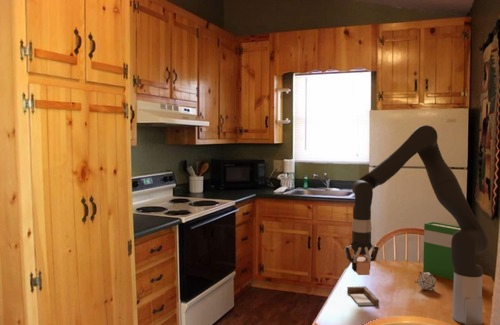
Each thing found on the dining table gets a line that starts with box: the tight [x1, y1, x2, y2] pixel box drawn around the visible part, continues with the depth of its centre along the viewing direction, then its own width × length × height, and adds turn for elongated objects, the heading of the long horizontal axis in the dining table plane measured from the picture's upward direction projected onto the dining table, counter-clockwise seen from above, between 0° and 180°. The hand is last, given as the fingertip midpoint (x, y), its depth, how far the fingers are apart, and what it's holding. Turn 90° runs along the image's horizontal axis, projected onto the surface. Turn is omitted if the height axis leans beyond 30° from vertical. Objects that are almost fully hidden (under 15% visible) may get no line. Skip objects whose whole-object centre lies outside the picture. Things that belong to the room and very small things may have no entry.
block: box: [355, 256, 371, 276], centre depth 174 cm, size 4×8×5 cm, turn 2°
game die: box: [414, 271, 439, 292], centre depth 185 cm, size 9×8×10 cm
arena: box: [346, 285, 380, 307], centre depth 176 cm, size 15×8×2 cm, turn 4°
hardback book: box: [422, 221, 461, 281], centre depth 204 cm, size 18×7×24 cm, turn 36°
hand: (361, 270), depth 175 cm, fingers closed on block, 4 cm apart
